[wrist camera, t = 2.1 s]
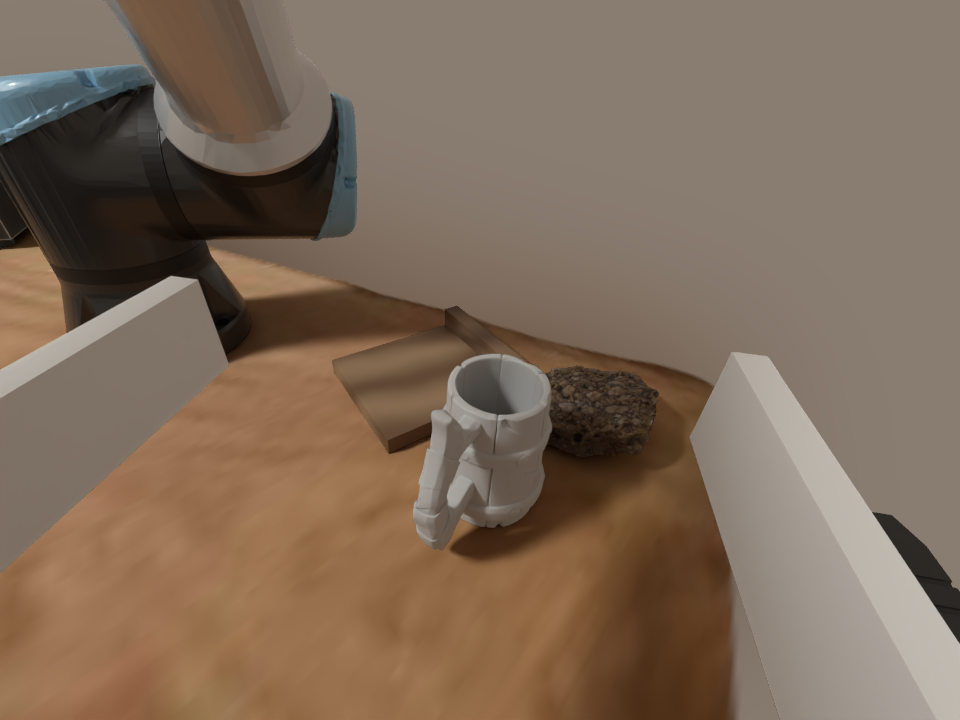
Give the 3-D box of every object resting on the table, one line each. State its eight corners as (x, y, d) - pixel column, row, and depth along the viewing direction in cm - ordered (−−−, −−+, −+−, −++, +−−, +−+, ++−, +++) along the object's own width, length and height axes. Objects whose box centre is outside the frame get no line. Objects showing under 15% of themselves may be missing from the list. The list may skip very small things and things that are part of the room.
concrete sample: (658, 419, 39) (677, 376, 36) (624, 497, 32) (644, 451, 29) (545, 372, 43) (553, 330, 40) (493, 431, 36) (498, 386, 33)
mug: (556, 473, 33) (589, 345, 26) (476, 611, 24) (491, 479, 17) (473, 432, 36) (481, 308, 29) (375, 543, 27) (353, 406, 20)
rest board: (334, 372, 41) (328, 342, 39) (456, 333, 48) (457, 305, 46) (388, 453, 33) (385, 421, 31) (524, 392, 40) (529, 363, 38)
